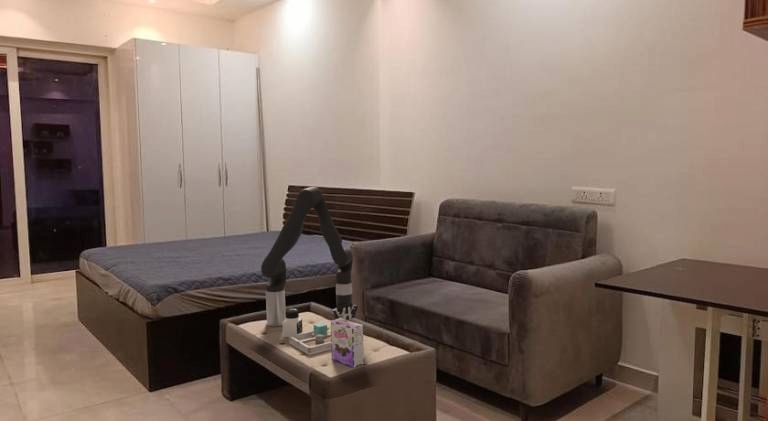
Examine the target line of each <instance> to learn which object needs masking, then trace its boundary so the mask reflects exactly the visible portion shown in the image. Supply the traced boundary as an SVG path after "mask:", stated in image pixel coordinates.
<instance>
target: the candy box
mask: <svg viewBox="0 0 768 421" xmlns="http://www.w3.org/2000/svg"><path fill="white" fill-rule="evenodd" d="M330 329H331V348H332V349H331V360H333V361H336V362H338V363H340V362H341V364H343V363H344V365H345V364H346V365H345V366H348V367H350V368H354V369H355V368H358V367H360V366H362V365H364V325H363V324H360V323H357V322H355V321H352V320H351V321H349V320H346V319H343V318H338V319H332V320H330Z"/></svg>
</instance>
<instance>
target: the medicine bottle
mask: <svg viewBox="0 0 768 421" xmlns="http://www.w3.org/2000/svg"><path fill="white" fill-rule="evenodd" d="M285 311H286V312H285V315H286V320H285V321H284V322H283V323H282V337H283V338H289V336H291V335H295V334H300V333H304V331H303V318H300V316H299V309H296V308H289V309H287V310H285Z"/></svg>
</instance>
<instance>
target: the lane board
mask: <svg viewBox="0 0 768 421" xmlns="http://www.w3.org/2000/svg"><path fill="white" fill-rule="evenodd" d="M327 330H330V328H329V326H327ZM313 333H314V329H313V330H309V331H306V332H305V331H303V332H302V333H300V334H295V335H291V336H289V337H288V343H289V344H291V345H292V346H293V347H295V348H297V349H298V350H300V351H301V352H303V353H305V354H306V355H308V356H310V355H314V354H318V353H323V352H326V351H330V350H332V348H331V342H327V343H323V344H319V345H315V346H312V347H309V346H307V345H306V344H304V343H308V342H312V341H315V338H313V337H312V336H311V334H313ZM328 337H331V334H327V335H324V338H328Z"/></svg>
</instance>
